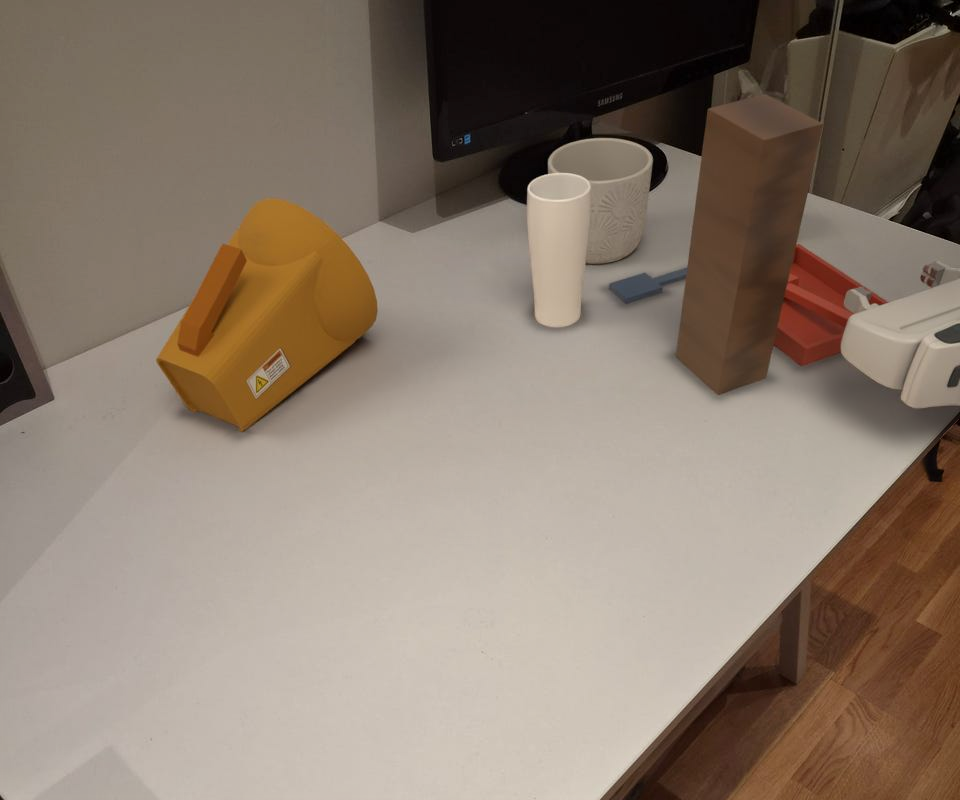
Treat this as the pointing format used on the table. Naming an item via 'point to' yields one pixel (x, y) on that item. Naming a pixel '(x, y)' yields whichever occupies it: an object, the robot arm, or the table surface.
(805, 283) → the red tray
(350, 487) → the table surface
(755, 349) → the stand
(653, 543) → the table surface
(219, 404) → the flared yellow plastic housing
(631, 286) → the blue spoon
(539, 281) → the drinking glass
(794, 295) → the red spoon
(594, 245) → the planter
